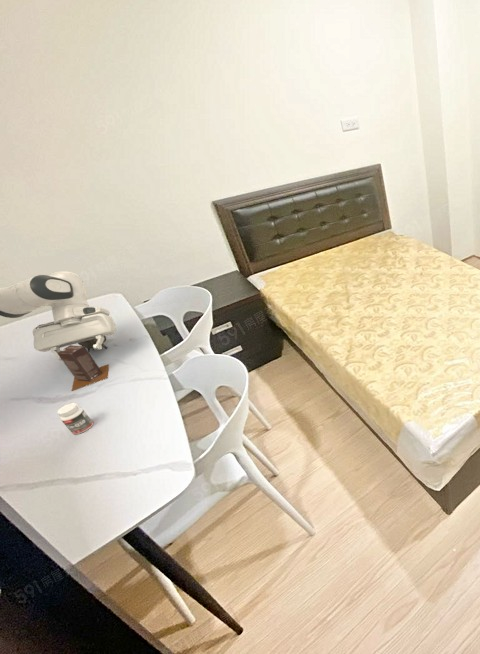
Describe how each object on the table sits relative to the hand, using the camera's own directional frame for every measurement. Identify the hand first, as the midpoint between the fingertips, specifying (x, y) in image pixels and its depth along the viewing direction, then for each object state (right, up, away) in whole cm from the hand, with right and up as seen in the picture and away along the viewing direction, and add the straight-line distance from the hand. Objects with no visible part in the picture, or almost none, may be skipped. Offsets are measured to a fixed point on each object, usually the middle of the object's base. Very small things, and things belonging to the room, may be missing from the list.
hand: (80, 354), depth 134 cm
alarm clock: (-11, -1, +16) cm, 20 cm away
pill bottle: (+19, -19, -17) cm, 31 cm away
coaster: (+1, -8, +2) cm, 9 cm away
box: (+1, -8, +2) cm, 9 cm away
